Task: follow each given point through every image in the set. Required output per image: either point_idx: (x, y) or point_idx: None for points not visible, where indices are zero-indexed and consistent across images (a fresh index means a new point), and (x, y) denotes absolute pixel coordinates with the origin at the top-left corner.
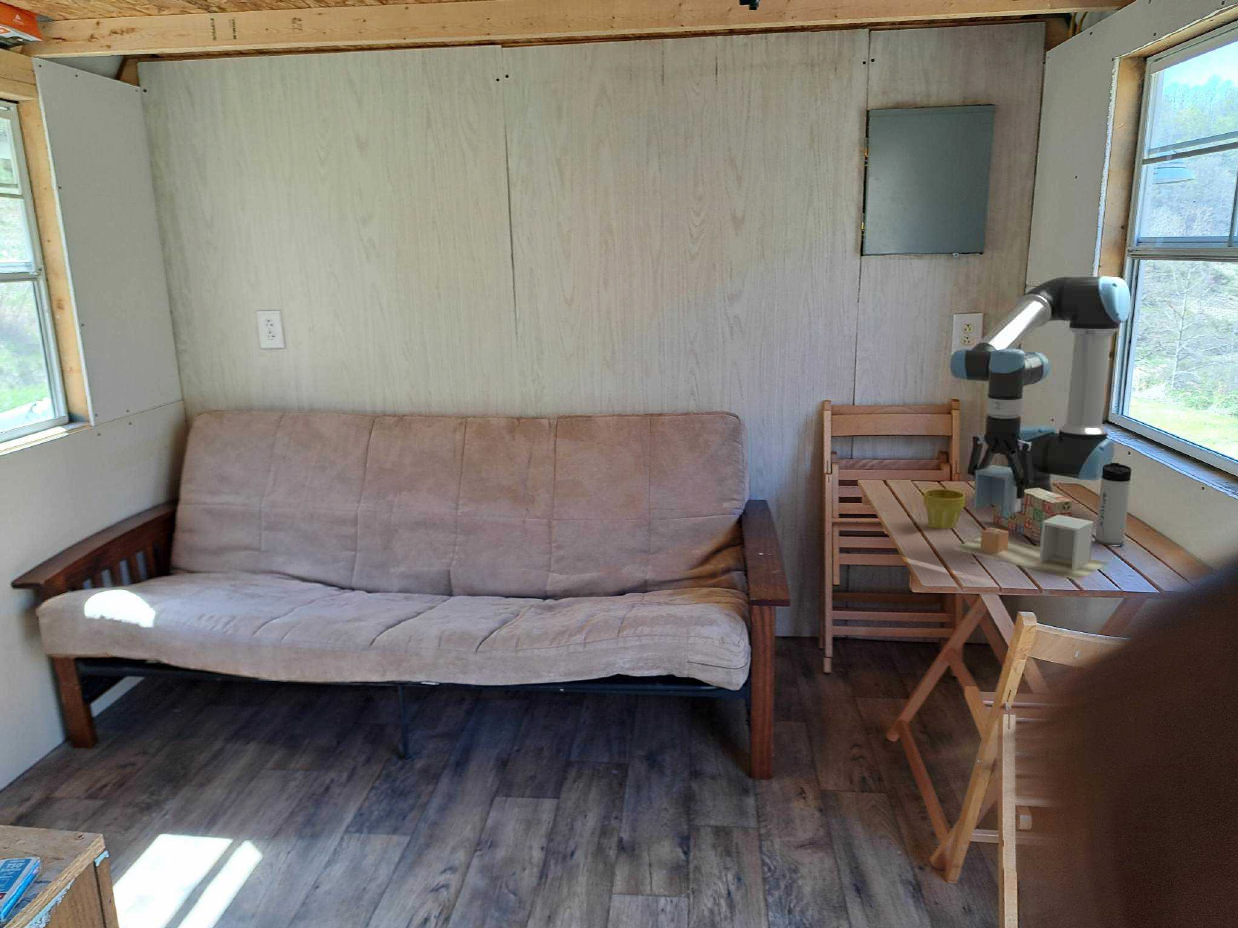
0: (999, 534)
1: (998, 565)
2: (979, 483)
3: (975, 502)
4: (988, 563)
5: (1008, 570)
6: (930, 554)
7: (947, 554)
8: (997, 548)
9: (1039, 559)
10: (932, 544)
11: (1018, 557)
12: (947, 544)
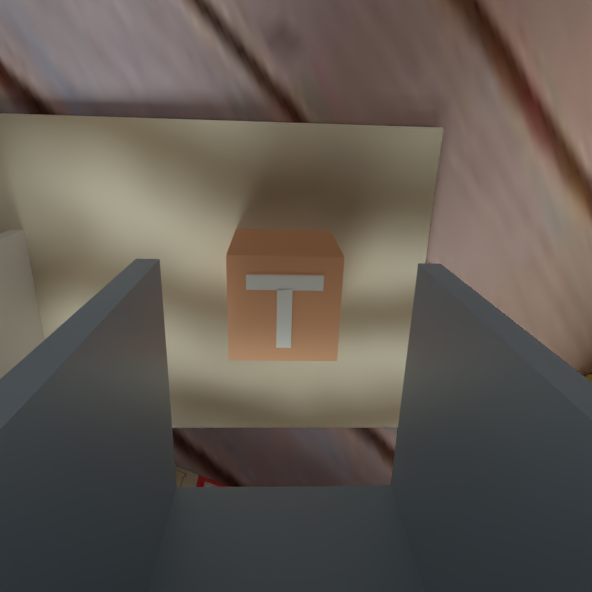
0: (235, 271)
1: (169, 103)
2: (561, 474)
3: (456, 288)
4: (220, 96)
5: (91, 61)
6: (518, 8)
7: (443, 81)
8: (239, 234)
9: (13, 234)
10: (563, 181)
11: (132, 235)
12: (501, 233)
